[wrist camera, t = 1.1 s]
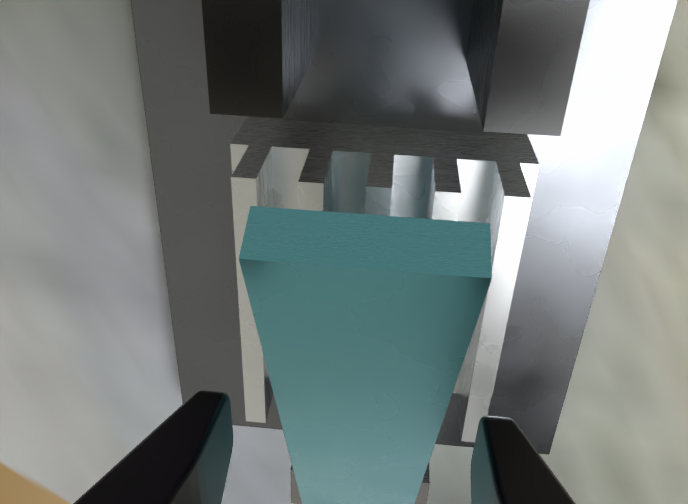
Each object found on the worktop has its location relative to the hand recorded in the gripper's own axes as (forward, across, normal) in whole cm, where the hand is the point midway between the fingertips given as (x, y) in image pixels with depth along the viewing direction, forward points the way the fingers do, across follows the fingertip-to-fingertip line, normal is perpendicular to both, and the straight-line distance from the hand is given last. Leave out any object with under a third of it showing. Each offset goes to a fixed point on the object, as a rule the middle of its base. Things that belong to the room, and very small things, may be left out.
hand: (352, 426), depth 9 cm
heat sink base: (+13, 0, +4) cm, 13 cm away
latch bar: (+4, 0, +4) cm, 6 cm away
